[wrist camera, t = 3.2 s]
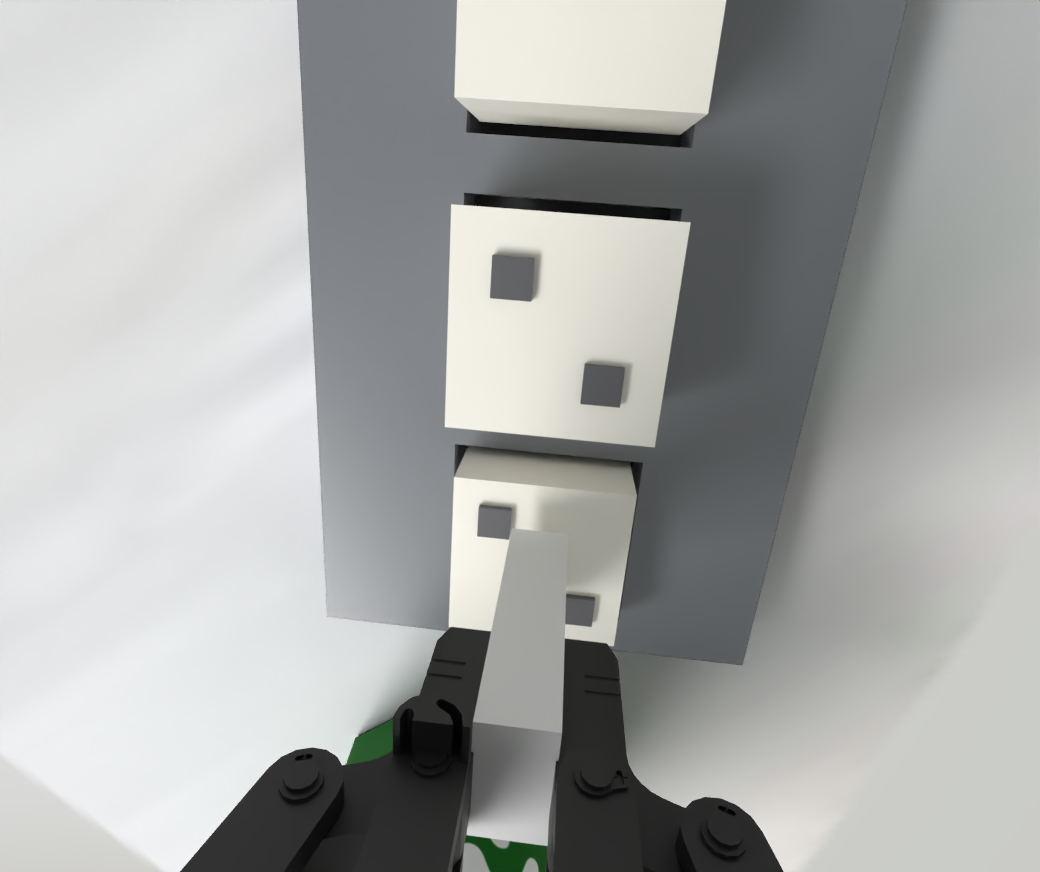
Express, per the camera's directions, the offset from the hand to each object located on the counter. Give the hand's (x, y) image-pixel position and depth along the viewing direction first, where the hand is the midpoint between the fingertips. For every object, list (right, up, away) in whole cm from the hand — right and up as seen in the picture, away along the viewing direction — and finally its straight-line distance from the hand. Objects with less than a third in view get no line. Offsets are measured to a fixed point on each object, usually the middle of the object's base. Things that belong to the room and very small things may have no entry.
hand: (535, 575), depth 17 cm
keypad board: (+1, +8, +2) cm, 8 cm away
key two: (+1, +7, 0) cm, 7 cm away
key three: (0, +1, +4) cm, 4 cm away
